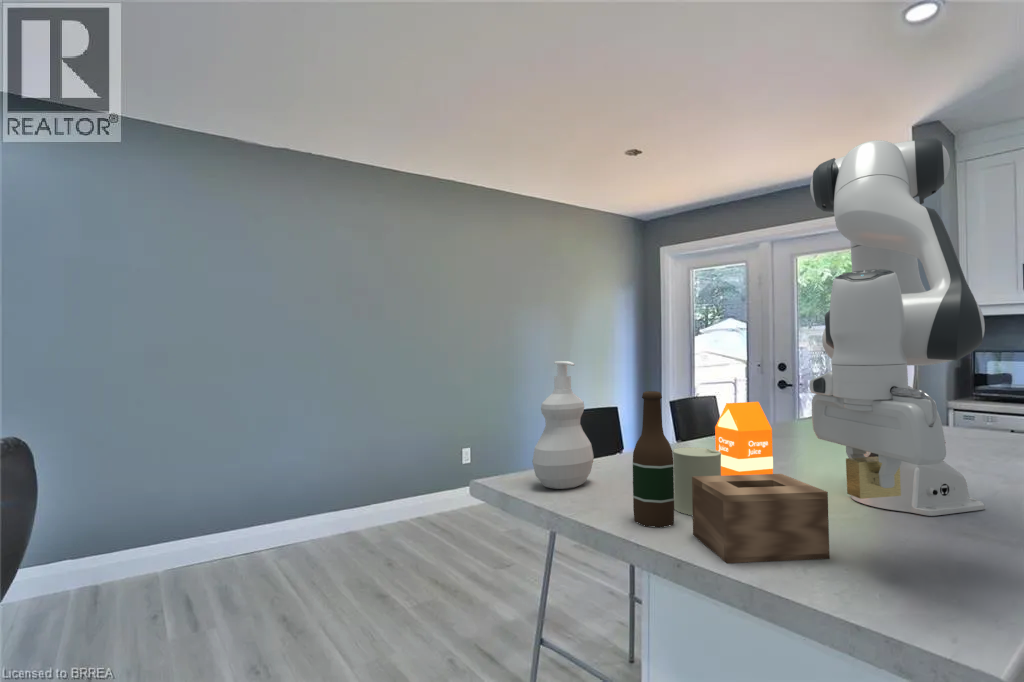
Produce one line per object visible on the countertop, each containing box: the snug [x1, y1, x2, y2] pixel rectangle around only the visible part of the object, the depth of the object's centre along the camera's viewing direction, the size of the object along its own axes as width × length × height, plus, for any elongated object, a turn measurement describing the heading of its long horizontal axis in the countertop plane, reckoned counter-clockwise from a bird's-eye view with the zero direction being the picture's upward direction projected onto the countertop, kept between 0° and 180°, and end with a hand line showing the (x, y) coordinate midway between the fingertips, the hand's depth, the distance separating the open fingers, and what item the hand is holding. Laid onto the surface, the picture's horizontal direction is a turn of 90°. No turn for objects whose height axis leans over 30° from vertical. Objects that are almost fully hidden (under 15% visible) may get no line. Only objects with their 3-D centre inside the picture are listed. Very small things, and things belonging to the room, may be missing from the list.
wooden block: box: [845, 457, 901, 499], centre depth 74 cm, size 6×2×5 cm, turn 95°
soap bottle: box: [532, 360, 595, 490], centre depth 125 cm, size 17×12×29 cm
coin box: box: [692, 473, 830, 564], centre depth 85 cm, size 16×12×10 cm
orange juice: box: [714, 401, 774, 476], centre depth 116 cm, size 8×9×20 cm
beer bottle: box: [632, 390, 675, 528], centre depth 98 cm, size 8×8×24 cm
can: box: [672, 446, 721, 516], centre depth 105 cm, size 9×9×12 cm
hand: (873, 482), depth 74 cm, fingers closed on wooden block, 2 cm apart
